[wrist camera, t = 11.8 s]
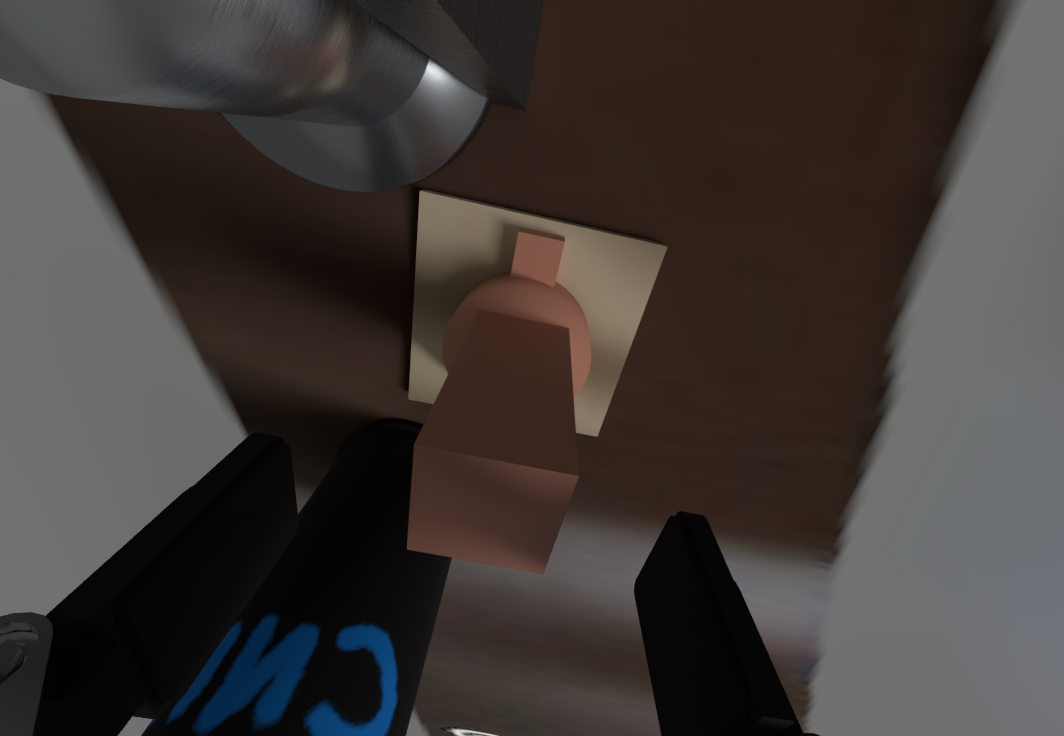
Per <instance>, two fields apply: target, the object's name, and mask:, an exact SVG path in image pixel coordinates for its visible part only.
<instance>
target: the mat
mask: <svg viewBox="0 0 1064 736" xmlns="http://www.w3.org/2000/svg"><path fill="white" fill-rule="evenodd" d="M520 227H524V228H529V229H533V230H538V231H542V232H546V233H551V234H555V235H560V236H564V237H565V244H564V248H563V252H562V256H561V260H560V264H559V269H558V273H557V277H556V282H557V283H559V284H561V285H562V286H563V287H564V288H566V289H567V290H568V291H569V292H570V293H571V294H572V295H573V296H574V298H575V299H576V300H577V302H578V303H579V305H580V307H581V308H582V310H583V313H584V315H585V318H586V322H587V327H588V332H589V338H590V344H591V355H592V357H591V366H590V370H589V374H588V376H587V379H586V381H585V383H584V385H583V386H582V388H581V389H580V391H579V392H578V393H577V395H576V396H575V397H574V410H575V425H576V433H581V434H586V435H591V436H596V437H597V436H598V433H599V431H600V428H601V425H602V423H603V420H604V417H605V414H606V412H607V409H608V406H609V404H610V401H611V398H612V396H613V393H614V390H615V387H616V385H617V382H618V379H619V377H620V374H621V371H622V368H623V366H624V363H625V360H626V358H627V355H628V352H629V350H630V347H631V344H632V341H633V339H634V336H635V333H636V331H637V328H638V325H639V322H640V320H641V317H642V314H643V312H644V309H645V306H646V304H647V301H648V298H649V295H650V293H651V290H652V287H653V285H654V282H655V279H656V277H657V274H658V271H659V268H660V266H661V263H662V260H663V258H664V255H665V252H666V249H667V246H666V245H665V244H664V243H660V242H656V241H651V240H647V239H642V238H638V237H633V236H629V235H625V234H620V233H616V232H611V231H607V230H602V229H598V228H594V227H589V226H585V225H580V224H576V223H571V222H567V221H563V220H558V219H554V218H549V217H545V216H540V215H536V214H532V213H527V212H523V211H518V210H514V209H509V208H505V207H501V206H496V205H492V204H487V203H483V202H478V201H474V200H470V199H465V198H461V197H456V196H452V195H447V194H443V193H439V192H434V191H430V190H425V189H424V190H420V195H419V213H418V232H417V250H416V269H415V287H414V306H413V324H412V343H411V362H410V380H409V399H410V400H415V401H420V402H425V403H430V404H434V402H435V400H436V398H437V396H438V394H439V392H440V390H441V388H442V386H443V384H444V382H445V379H446V377H447V375H448V373H447V370H446V368H445V364H444V360H443V352H442V349H443V338H444V333H445V330H446V327H447V325H448V323H449V321H450V319H451V317H452V316H453V314H454V313H455V311H456V309H457V308H458V306H459V305H460V303H461V301H462V300H463V299H464V297H465V296H466V294H467V293H468V292H469V291H470V290H471V289H472V288H473V287H474V286H476V285H477V284H478V283H480V282H481V281H483V280H485V279H487V278H489V277H491V276H494V275H496V274H500V273H504V272H511V270H512V264H513V259H514V253H515V248H516V242H517V236H518V231H519V229H520Z"/></svg>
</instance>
